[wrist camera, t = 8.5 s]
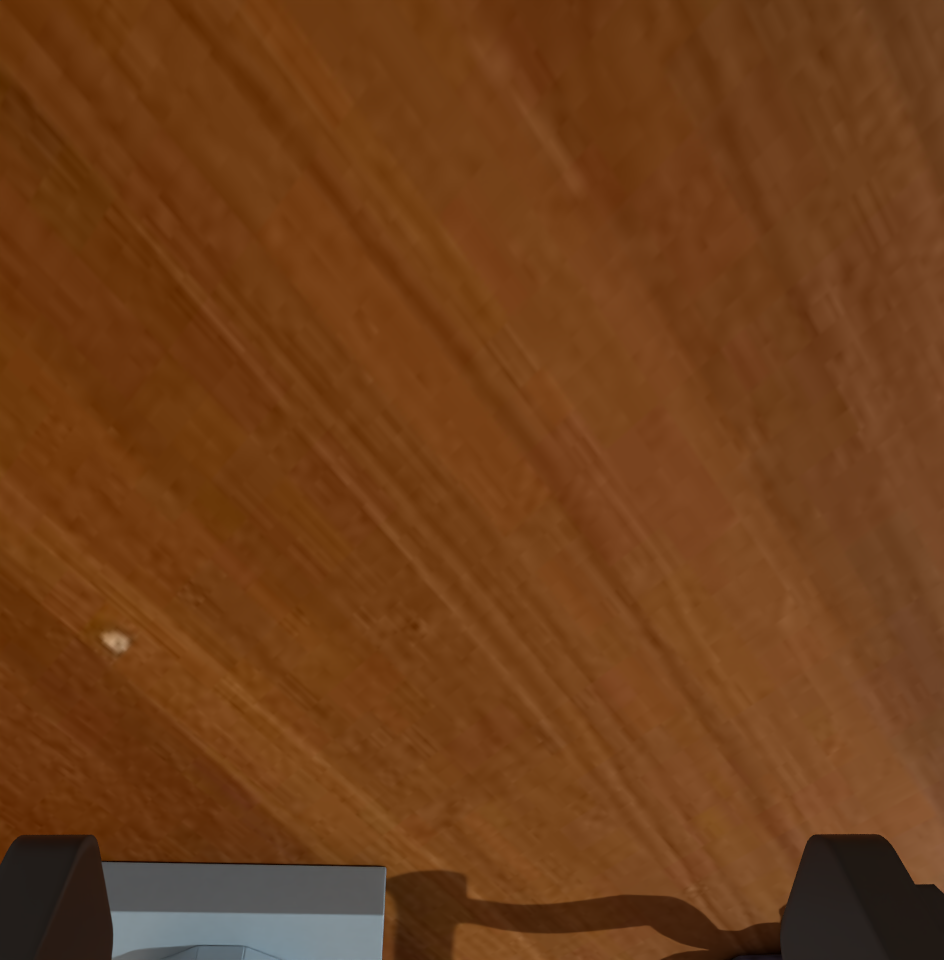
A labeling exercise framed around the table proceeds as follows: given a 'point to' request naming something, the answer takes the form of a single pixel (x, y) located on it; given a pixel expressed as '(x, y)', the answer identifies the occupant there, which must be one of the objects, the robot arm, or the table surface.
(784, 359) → the table surface
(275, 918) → the button box
